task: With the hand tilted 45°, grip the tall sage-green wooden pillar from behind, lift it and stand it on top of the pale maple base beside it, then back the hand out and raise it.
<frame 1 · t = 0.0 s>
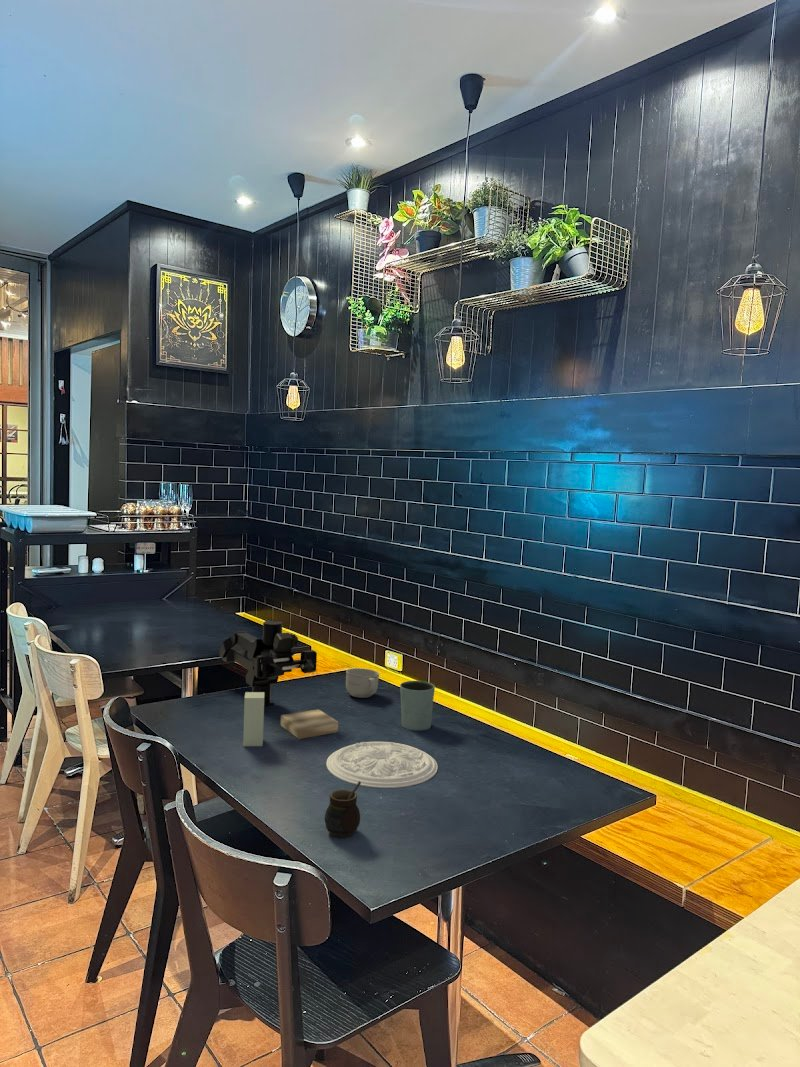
hand: (298, 671, 212), 17 cm above the table, tool horizontal, fingers open, 9 cm apart
ceiling medallion: (382, 767, 191), on the table
teacup: (362, 697, 246), on the table
mate gourd: (342, 832, 155), on the table
maple base: (308, 728, 214), on the table
sage pillar: (253, 742, 202), on the table
grey-green cup: (415, 726, 221), on the table
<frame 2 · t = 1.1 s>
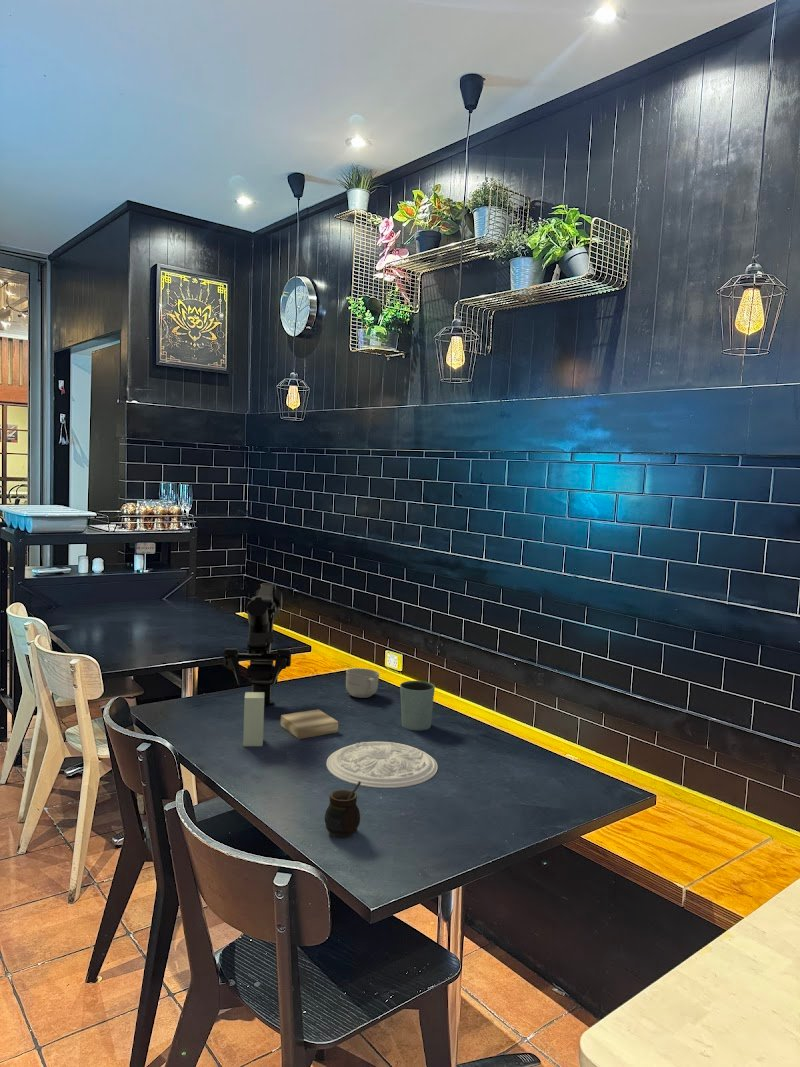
hand: (256, 684, 208), 14 cm above the table, tool tilted 45°, fingers open, 9 cm apart
nothing on the table moved.
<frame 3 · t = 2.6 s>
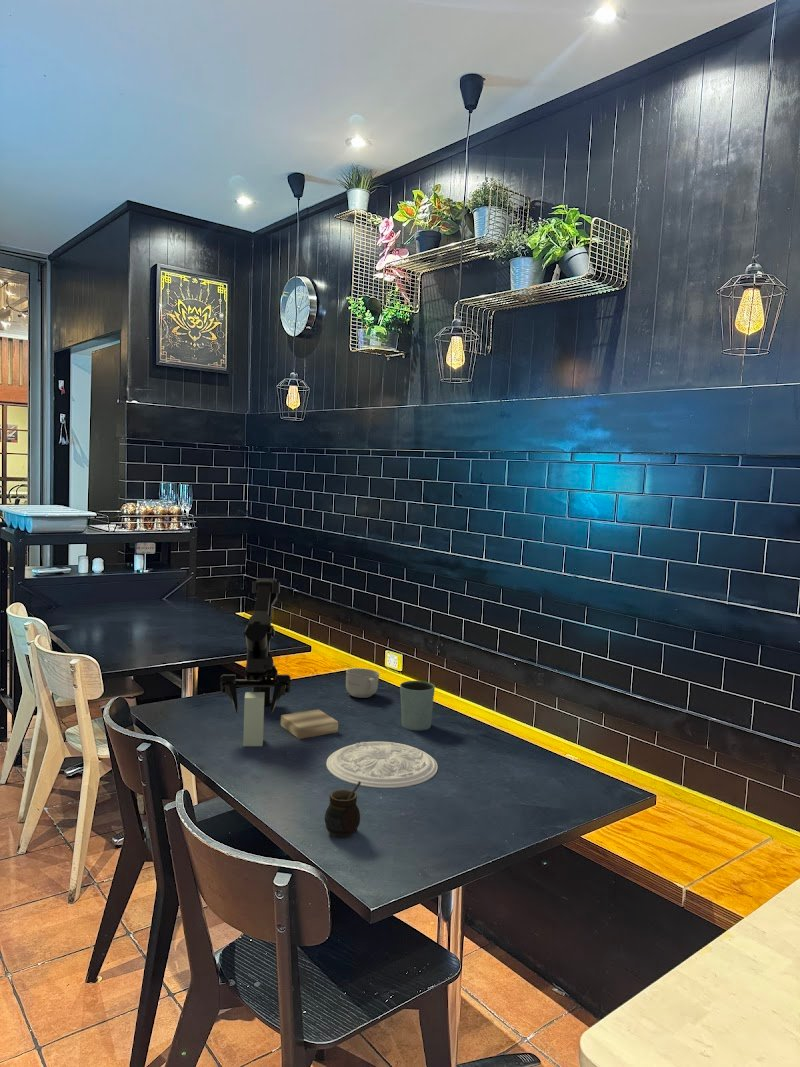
hand: (254, 712, 201), 8 cm above the table, tool tilted 45°, fingers open, 9 cm apart
nothing on the table moved.
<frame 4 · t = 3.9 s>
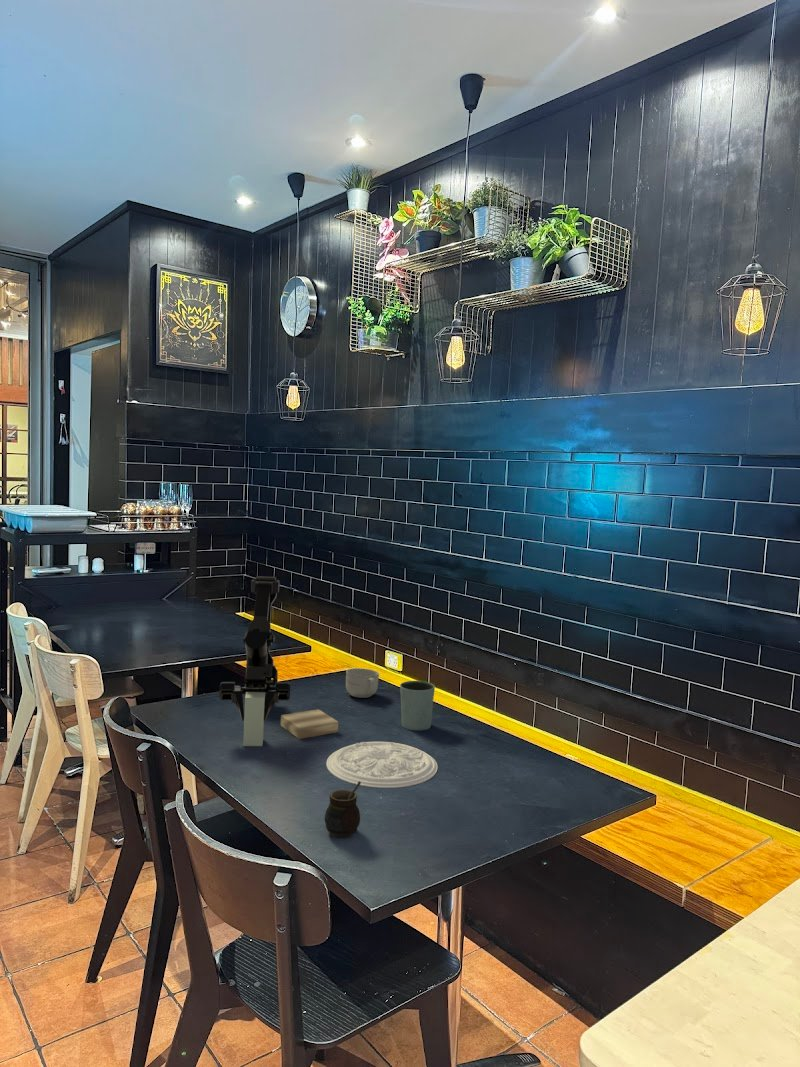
hand: (253, 720, 200), 7 cm above the table, tool tilted 45°, fingers closed on sage pillar, 5 cm apart
sage pillar: (253, 742, 202), on the table, touching gripper
everything else where it was.
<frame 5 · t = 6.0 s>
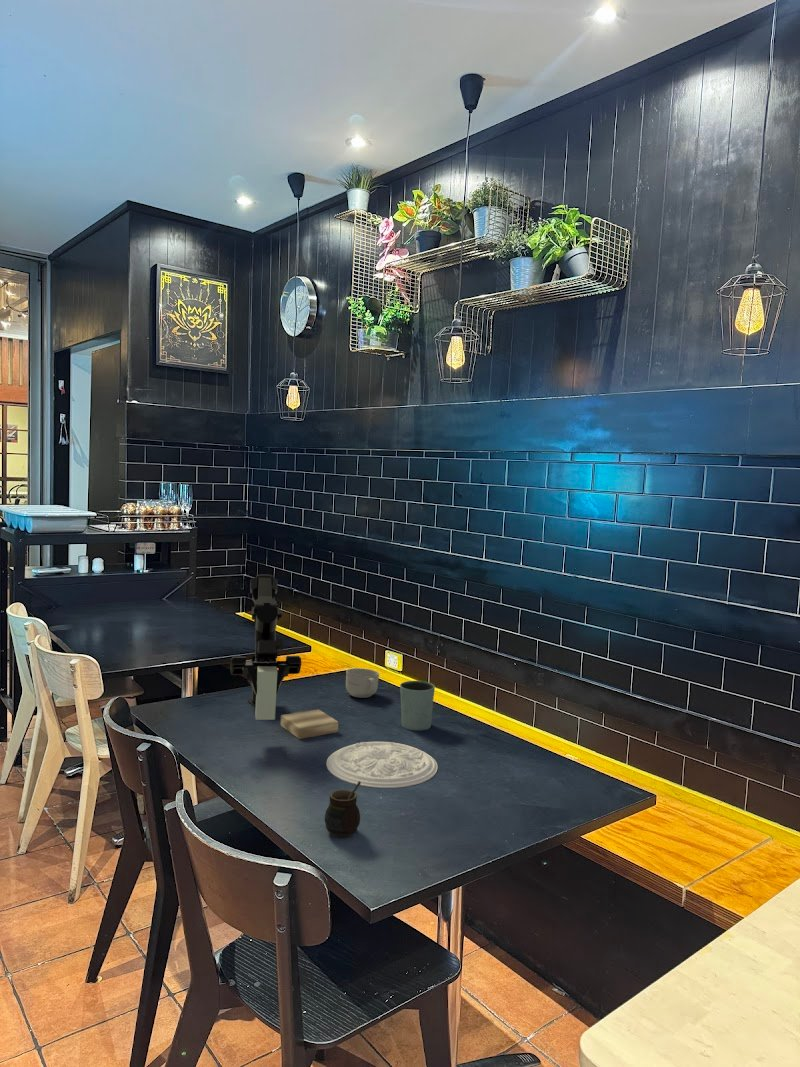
hand: (266, 693, 201), 13 cm above the table, tool tilted 45°, fingers closed on sage pillar, 5 cm apart
sage pillar: (264, 716, 203), point 7 cm above the table, touching gripper
everything else where it was.
when the fingers open (11 cm above the table, at t = 8.2 s): sage pillar drops 1 cm, resting on maple base.
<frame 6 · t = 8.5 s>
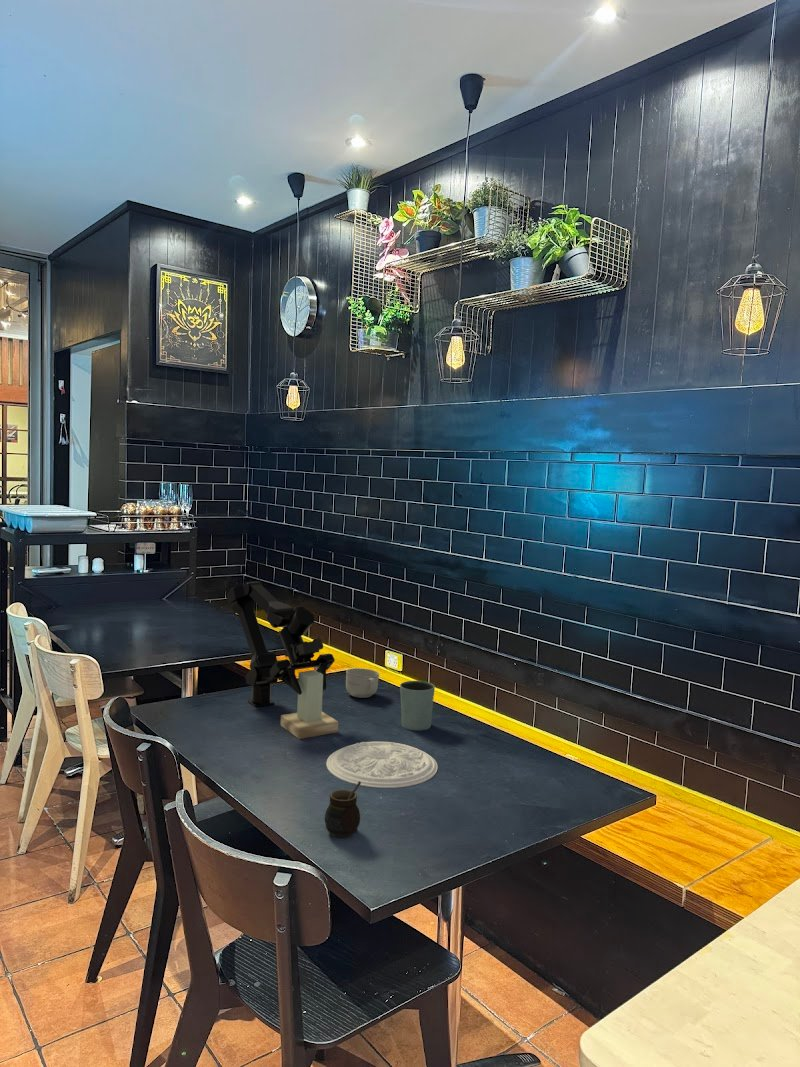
hand: (313, 691, 212), 11 cm above the table, tool tilted 45°, fingers open, 8 cm apart
sage pillar: (309, 718, 214), point 3 cm above the table, touching maple base
everything else where it was.
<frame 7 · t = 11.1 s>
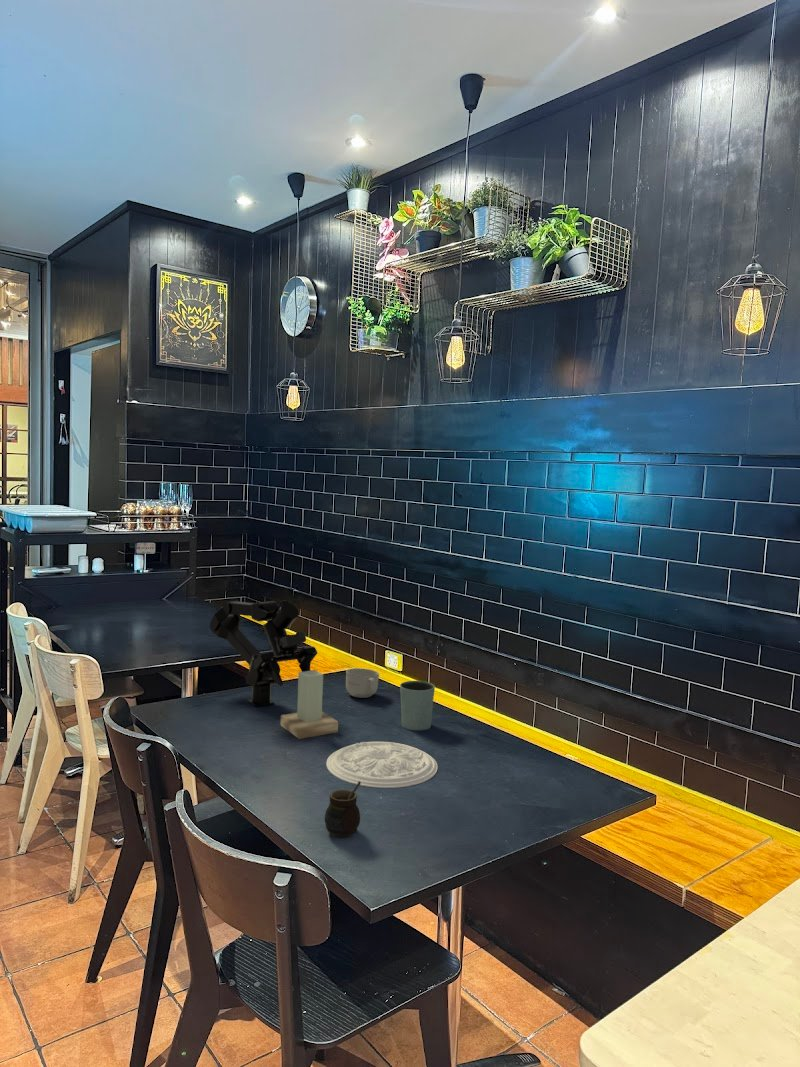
hand: (295, 683, 220), 11 cm above the table, tool tilted 45°, fingers open, 9 cm apart
nothing on the table moved.
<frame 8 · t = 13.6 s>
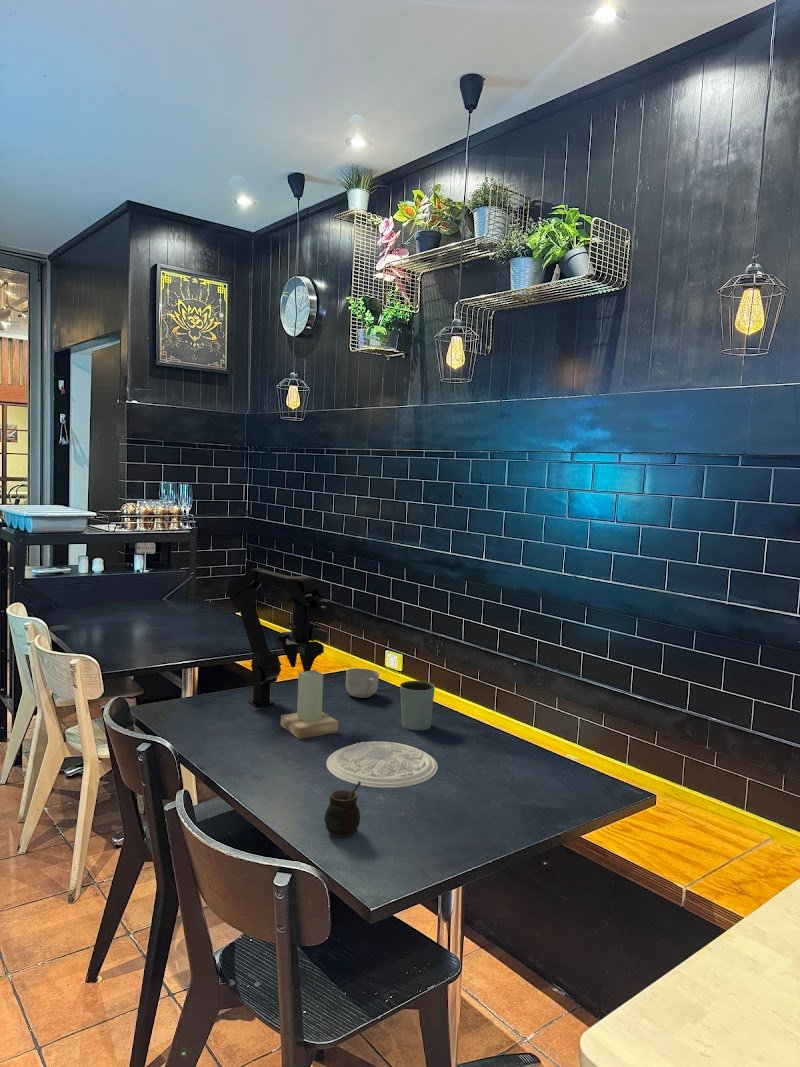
hand: (299, 671, 225), 13 cm above the table, tool pointing down, fingers open, 9 cm apart
nothing on the table moved.
at the end: sage pillar inside the target area on the maple base (0.1 cm from its centre), point 3.0 cm above the maple base's base; sage pillar tilted 0°; the gripper is holding nothing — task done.
